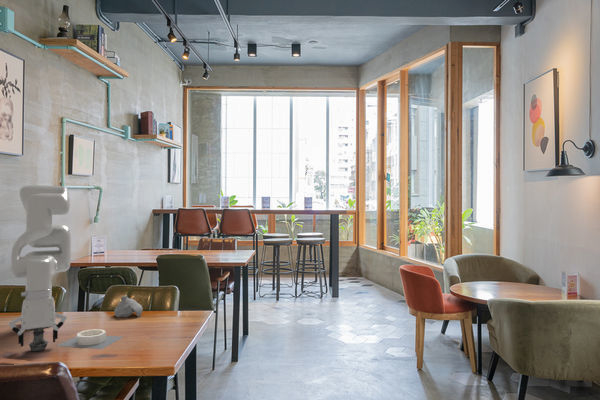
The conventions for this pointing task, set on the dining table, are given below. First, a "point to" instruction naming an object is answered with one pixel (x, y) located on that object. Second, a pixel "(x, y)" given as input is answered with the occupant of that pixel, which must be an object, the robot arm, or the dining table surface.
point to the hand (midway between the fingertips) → (38, 343)
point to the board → (102, 345)
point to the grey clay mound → (127, 307)
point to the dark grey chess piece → (38, 340)
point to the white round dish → (91, 337)
